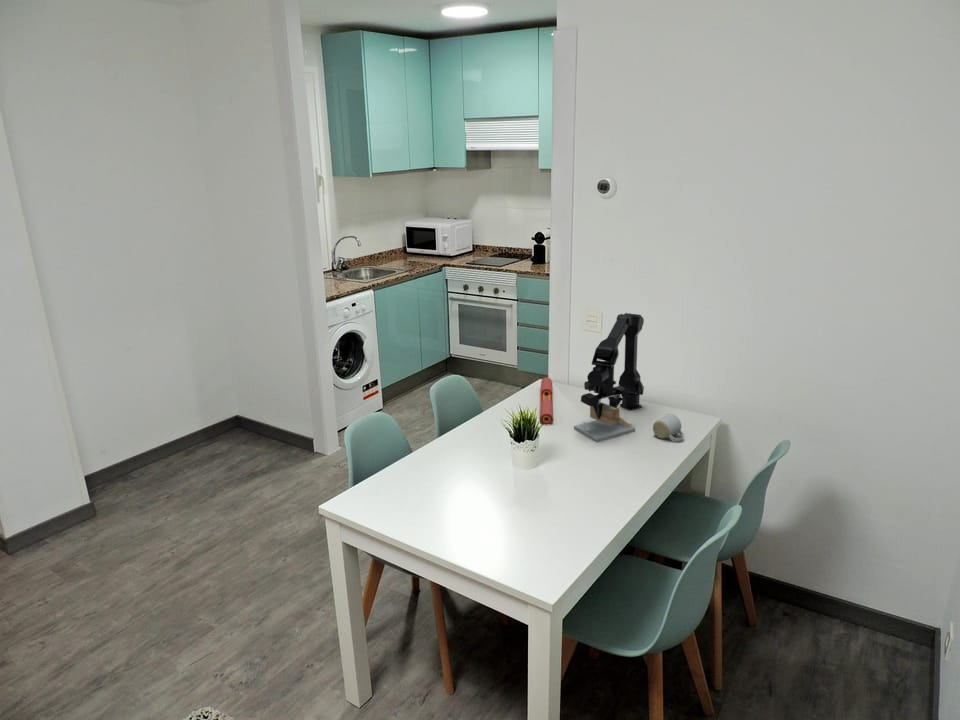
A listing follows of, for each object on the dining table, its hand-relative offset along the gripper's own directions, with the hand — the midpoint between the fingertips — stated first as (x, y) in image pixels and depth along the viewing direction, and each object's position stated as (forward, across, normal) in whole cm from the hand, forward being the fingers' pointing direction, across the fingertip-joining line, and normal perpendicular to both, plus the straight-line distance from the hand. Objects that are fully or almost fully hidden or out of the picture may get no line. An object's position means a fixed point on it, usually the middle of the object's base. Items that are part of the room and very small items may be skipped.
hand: (604, 416), depth 248 cm
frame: (+1, 0, 0) cm, 1 cm away
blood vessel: (+6, +4, -33) cm, 34 cm away
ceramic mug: (+6, -16, +17) cm, 25 cm away
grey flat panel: (+5, 0, 0) cm, 5 cm away
